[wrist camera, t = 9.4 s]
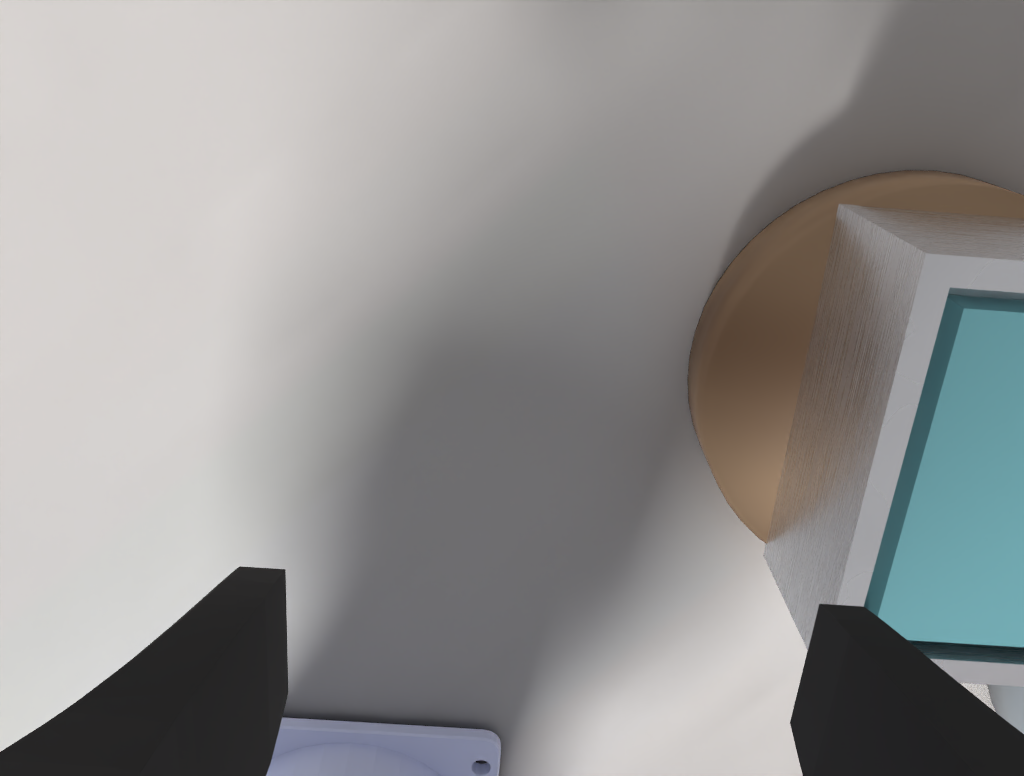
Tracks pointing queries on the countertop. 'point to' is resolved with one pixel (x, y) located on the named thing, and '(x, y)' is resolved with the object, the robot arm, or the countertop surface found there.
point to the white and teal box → (878, 404)
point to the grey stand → (1009, 704)
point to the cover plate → (961, 488)
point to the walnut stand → (789, 327)
